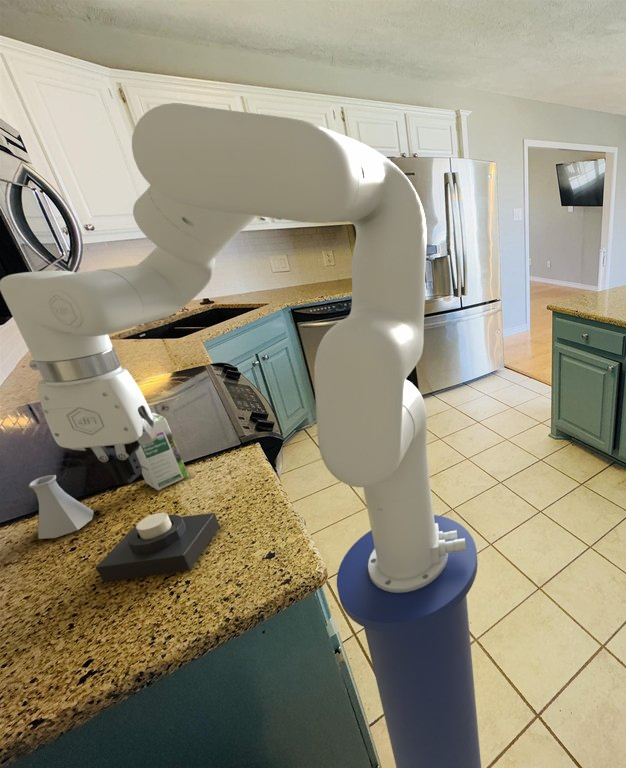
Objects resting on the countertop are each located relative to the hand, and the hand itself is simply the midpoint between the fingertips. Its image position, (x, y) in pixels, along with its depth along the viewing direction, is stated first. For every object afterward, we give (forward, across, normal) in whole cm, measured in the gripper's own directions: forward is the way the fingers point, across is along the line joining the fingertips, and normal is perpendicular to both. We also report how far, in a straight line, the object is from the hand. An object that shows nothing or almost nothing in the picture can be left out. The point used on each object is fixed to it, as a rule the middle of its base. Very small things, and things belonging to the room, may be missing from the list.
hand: (130, 478), depth 62 cm
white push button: (+10, +1, 0) cm, 10 cm away
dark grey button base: (+15, +1, 0) cm, 15 cm away
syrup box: (+15, -11, +23) cm, 30 cm away
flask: (+15, -21, +11) cm, 29 cm away
